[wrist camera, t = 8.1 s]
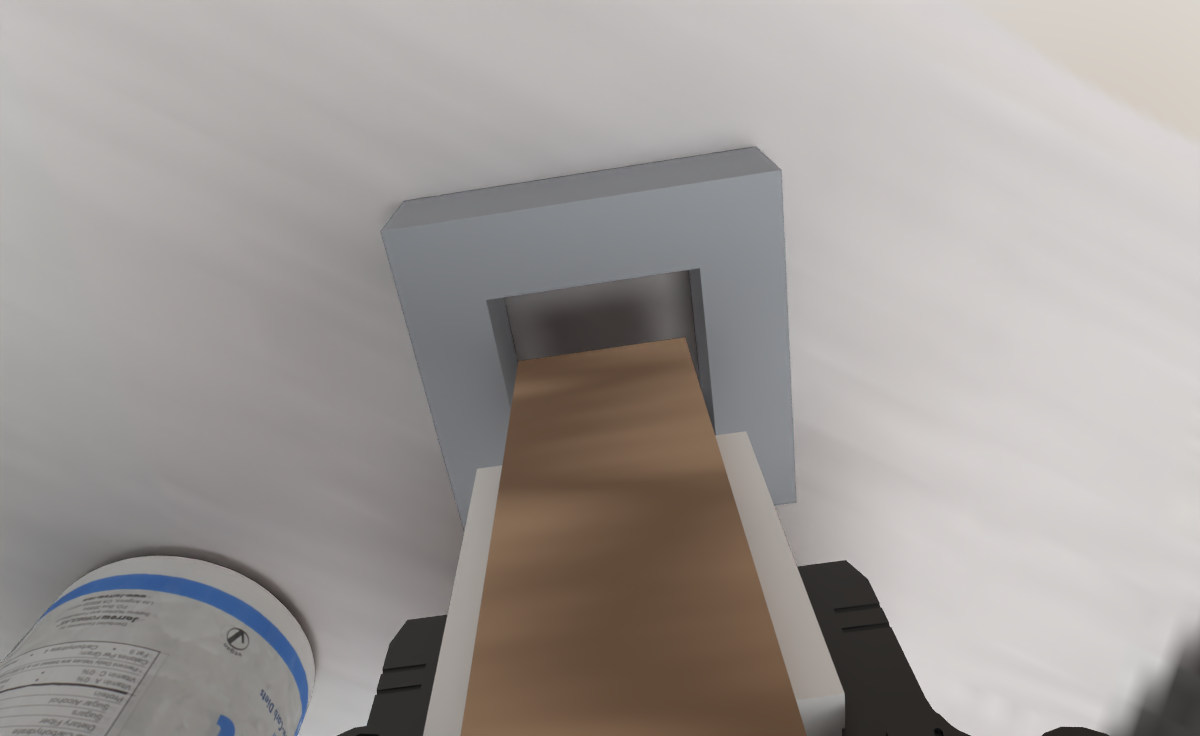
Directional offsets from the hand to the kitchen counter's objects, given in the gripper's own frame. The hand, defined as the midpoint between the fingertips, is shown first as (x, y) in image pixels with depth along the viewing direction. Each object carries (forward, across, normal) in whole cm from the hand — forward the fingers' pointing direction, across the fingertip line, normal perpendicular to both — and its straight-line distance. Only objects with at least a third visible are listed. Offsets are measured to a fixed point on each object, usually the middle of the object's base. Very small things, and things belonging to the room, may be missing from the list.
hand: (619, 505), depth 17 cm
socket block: (+9, 0, 0) cm, 9 cm away
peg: (+4, 0, 0) cm, 4 cm away
